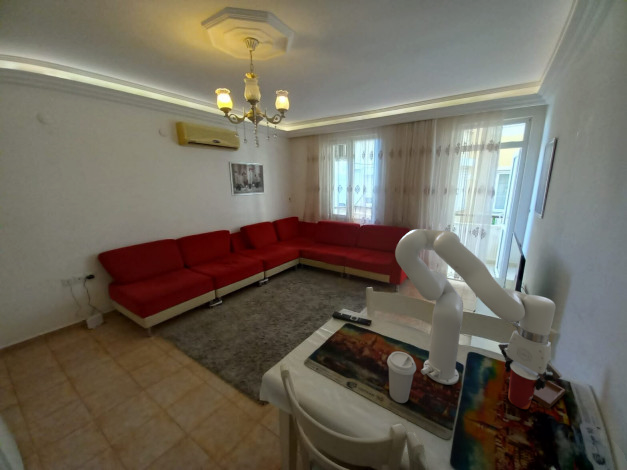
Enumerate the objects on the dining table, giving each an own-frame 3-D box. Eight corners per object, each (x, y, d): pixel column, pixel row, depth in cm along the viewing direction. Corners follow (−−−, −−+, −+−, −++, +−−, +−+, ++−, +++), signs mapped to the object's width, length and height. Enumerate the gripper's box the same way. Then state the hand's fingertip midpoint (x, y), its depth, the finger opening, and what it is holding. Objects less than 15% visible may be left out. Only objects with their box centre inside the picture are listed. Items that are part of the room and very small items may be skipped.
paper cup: (539, 414, 78) (547, 378, 75) (512, 409, 80) (519, 374, 77) (523, 393, 86) (530, 360, 83) (499, 390, 87) (505, 357, 84)
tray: (548, 408, 80) (550, 403, 79) (506, 382, 91) (507, 378, 90) (564, 394, 85) (565, 389, 85) (522, 371, 96) (523, 366, 95)
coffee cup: (399, 411, 79) (402, 373, 76) (379, 390, 88) (381, 355, 84) (419, 399, 84) (422, 363, 80) (398, 380, 92) (400, 346, 89)
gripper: (496, 322, 83) (488, 365, 87) (564, 353, 68) (552, 404, 71) (507, 317, 86) (500, 359, 90) (575, 345, 71) (562, 394, 75)
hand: (523, 378), depth 81 cm, fingers closed on paper cup, 7 cm apart
